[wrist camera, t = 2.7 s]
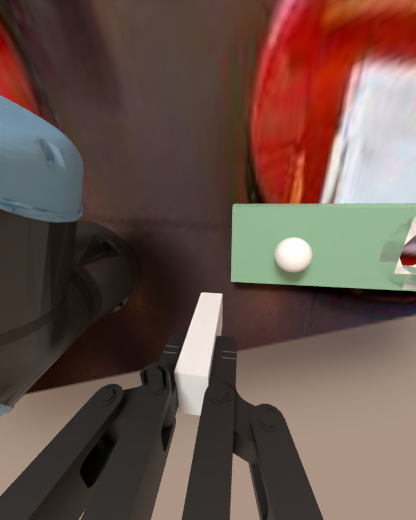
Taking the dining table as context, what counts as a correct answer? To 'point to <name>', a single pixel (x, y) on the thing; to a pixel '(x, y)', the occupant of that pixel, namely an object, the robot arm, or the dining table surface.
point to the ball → (293, 254)
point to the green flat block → (325, 244)
